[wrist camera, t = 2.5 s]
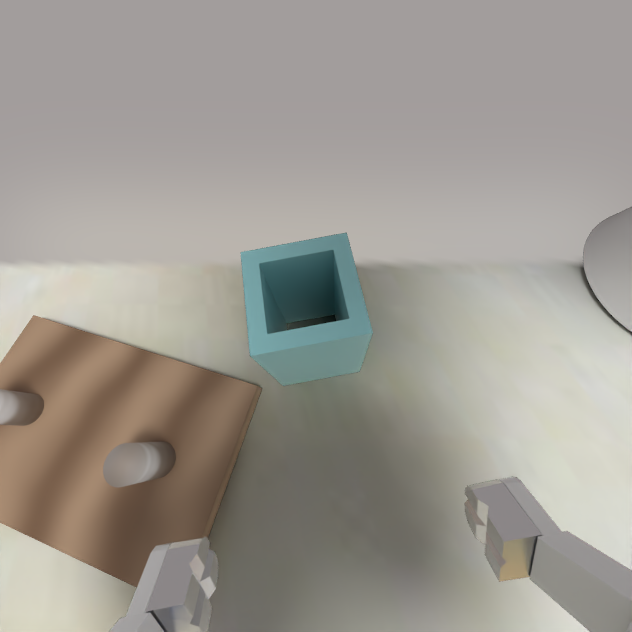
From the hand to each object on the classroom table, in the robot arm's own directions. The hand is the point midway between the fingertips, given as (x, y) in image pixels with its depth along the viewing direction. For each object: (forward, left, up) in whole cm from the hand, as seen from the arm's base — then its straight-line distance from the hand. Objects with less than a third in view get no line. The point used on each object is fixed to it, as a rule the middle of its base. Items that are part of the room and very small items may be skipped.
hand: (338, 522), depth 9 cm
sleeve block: (+5, -9, -14) cm, 17 cm away
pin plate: (+19, +3, -14) cm, 23 cm away
